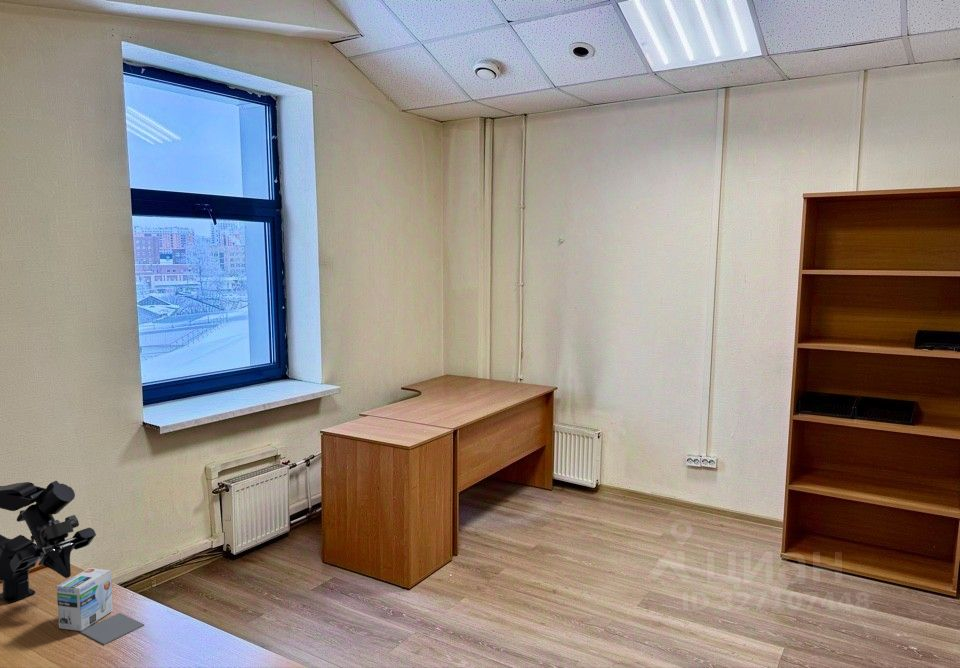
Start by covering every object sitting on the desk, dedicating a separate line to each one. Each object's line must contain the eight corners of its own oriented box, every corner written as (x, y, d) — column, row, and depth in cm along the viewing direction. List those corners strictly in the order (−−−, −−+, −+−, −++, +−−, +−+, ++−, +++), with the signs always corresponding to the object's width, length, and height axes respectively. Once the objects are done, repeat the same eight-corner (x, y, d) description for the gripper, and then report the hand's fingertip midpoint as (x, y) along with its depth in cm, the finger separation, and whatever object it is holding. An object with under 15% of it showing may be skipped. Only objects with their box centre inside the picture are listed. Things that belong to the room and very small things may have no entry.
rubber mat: (79, 632, 160) (79, 631, 160) (119, 613, 169) (119, 612, 169) (104, 645, 155) (104, 643, 155) (144, 625, 164) (144, 624, 164)
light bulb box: (81, 632, 160) (78, 588, 159) (57, 629, 161) (54, 586, 160) (114, 610, 170) (112, 569, 169) (91, 607, 171) (89, 566, 170)
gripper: (13, 520, 161) (40, 575, 157) (90, 497, 177) (117, 547, 173) (-2, 544, 166) (24, 598, 162) (74, 519, 182) (100, 568, 178)
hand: (68, 576), depth 168 cm, fingers closed
